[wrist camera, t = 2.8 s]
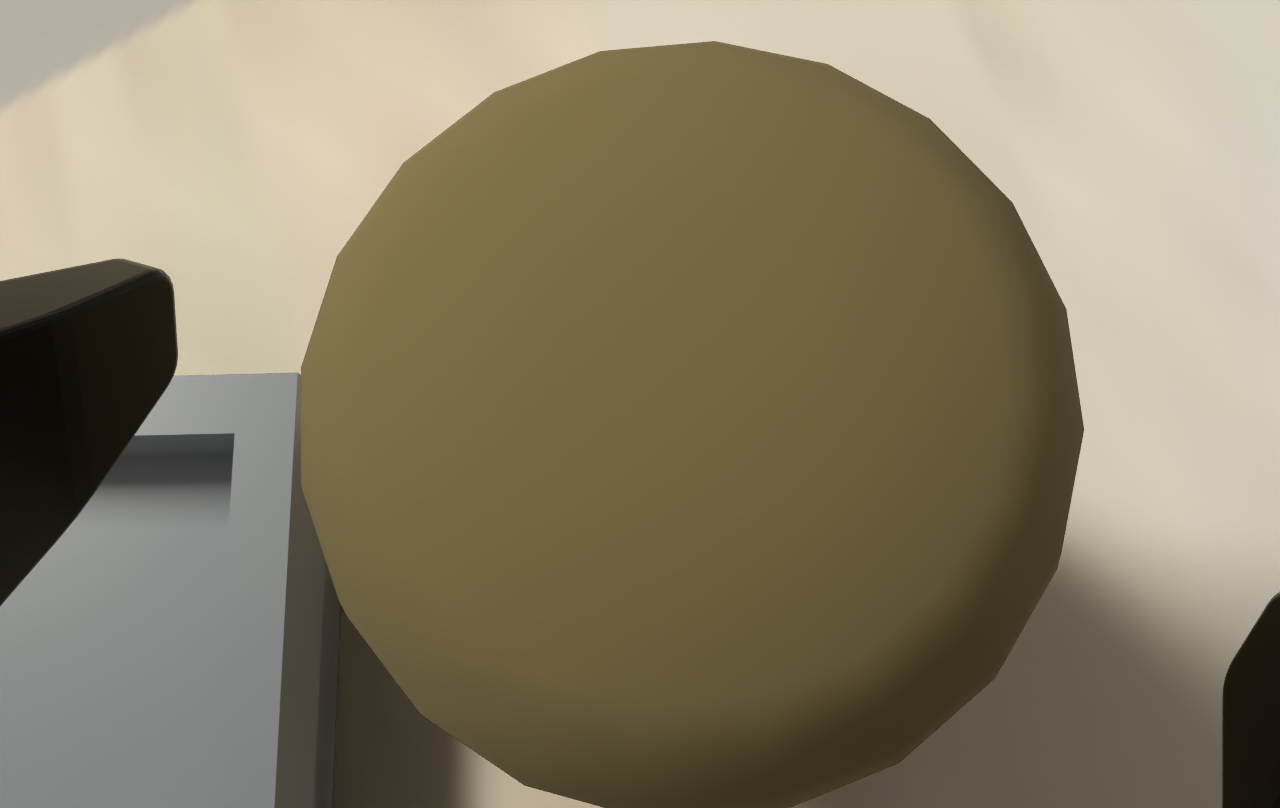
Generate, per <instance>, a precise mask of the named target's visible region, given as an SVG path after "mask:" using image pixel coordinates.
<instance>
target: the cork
mask: <svg viewBox="0 0 1280 808" xmlns="http://www.w3.org/2000/svg"><path fill="white" fill-rule="evenodd" d="M1083 432H1084V426H1083V420H1082V413H1081V406H1080V399H1079V393H1078V386H1077V379H1076V372H1075V365H1074V359H1073V352H1072V345H1071V338H1070V331H1069V325H1068V318H1067V311H1066V308H1065V306H1064V304H1063V302H1062V300H1061V298H1060V296H1059V294H1058V292H1057V290H1056V288H1055V286H1054V284H1053V282H1052V280H1051V278H1050V276H1049V274H1048V272H1047V270H1046V268H1045V266H1044V264H1043V262H1042V260H1041V258H1040V256H1039V254H1038V252H1037V250H1036V248H1035V246H1034V244H1033V242H1032V240H1031V238H1030V236H1029V235H1028V233H1027V231H1026V229H1025V227H1024V225H1023V223H1022V221H1021V219H1020V217H1019V215H1018V213H1017V211H1016V209H1015V207H1014V205H1013V203H1012V202H1011V201H1010V200H1009V199H1008V198H1007V197H1006V196H1005V195H1004V194H1003V193H1002V192H1001V191H1000V190H999V189H998V188H997V187H996V186H995V185H994V184H993V182H992V181H991V180H990V179H989V178H988V177H987V176H986V175H985V174H984V173H983V172H982V171H981V170H980V169H979V168H978V167H977V166H976V165H975V164H974V163H973V162H972V161H971V160H970V159H969V158H968V157H967V156H966V155H965V154H964V153H963V152H962V151H961V150H960V149H959V148H958V147H957V146H956V145H955V144H954V143H953V142H952V141H951V140H950V139H949V138H948V137H947V136H946V135H945V134H944V133H943V132H942V131H941V130H940V129H939V128H938V127H937V126H936V125H935V124H934V123H933V122H932V121H931V120H930V119H929V118H927V117H925V116H923V115H921V114H920V113H918V112H916V111H914V110H912V109H910V108H908V107H907V106H905V105H903V104H901V103H899V102H897V101H895V100H893V99H892V98H890V97H888V96H886V95H884V94H882V93H880V92H879V91H877V90H875V89H873V88H871V87H869V86H867V85H865V84H864V83H862V82H860V81H858V80H856V79H854V78H852V77H851V76H849V75H847V74H845V73H843V72H841V71H839V70H837V69H836V68H834V67H832V66H830V65H828V64H824V63H819V62H814V61H809V60H804V59H799V58H795V57H790V56H785V55H780V54H775V53H770V52H765V51H760V50H755V49H750V48H745V47H740V46H735V45H730V44H725V43H721V42H716V41H712V42H701V43H689V44H678V45H666V46H655V47H643V48H632V49H620V50H608V51H600V52H597V53H595V54H592V55H589V56H587V57H584V58H582V59H579V60H577V61H574V62H571V63H569V64H566V65H564V66H561V67H559V68H556V69H553V70H551V71H548V72H546V73H543V74H541V75H538V76H536V77H533V78H530V79H528V80H525V81H523V82H520V83H518V84H515V85H512V86H510V87H507V88H505V89H502V90H500V91H497V92H495V93H493V94H492V95H490V96H489V97H488V98H486V99H485V100H484V101H483V102H481V103H480V104H479V105H477V106H476V107H475V108H474V109H472V110H471V111H470V112H468V113H467V114H466V115H465V116H463V117H462V118H461V119H459V120H458V121H457V122H456V123H454V124H453V125H452V126H450V127H449V128H448V129H447V130H445V131H444V132H443V133H441V134H440V135H439V136H438V137H436V138H435V139H434V140H432V141H431V142H430V143H428V144H427V145H426V146H425V147H423V148H422V149H421V150H419V151H418V152H417V153H416V154H414V155H413V156H412V157H410V158H409V159H408V160H407V161H405V162H404V163H403V164H402V166H401V167H400V169H399V170H398V171H397V173H396V174H395V176H394V177H393V178H392V180H391V181H390V183H389V184H388V186H387V187H386V188H385V190H384V191H383V193H382V194H381V195H380V197H379V198H378V200H377V201H376V202H375V204H374V205H373V207H372V208H371V209H370V211H369V212H368V214H367V215H366V217H365V218H364V219H363V221H362V222H361V224H360V225H359V226H358V228H357V229H356V231H355V232H354V233H353V235H352V236H351V238H350V239H349V241H348V242H347V243H346V245H345V246H344V248H343V249H342V250H341V252H340V253H339V255H338V256H337V258H336V262H335V265H334V268H333V271H332V274H331V277H330V280H329V283H328V286H327V289H326V292H325V295H324V299H323V302H322V305H321V308H320V311H319V314H318V317H317V320H316V323H315V326H314V329H313V332H312V336H311V339H310V342H309V345H308V348H307V351H306V354H305V357H304V360H303V363H302V366H301V487H302V490H303V493H304V496H305V499H306V502H307V505H308V508H309V511H310V514H311V517H312V520H313V523H314V526H315V529H316V532H317V535H318V539H319V542H320V545H321V548H322V551H323V554H324V557H325V560H326V563H327V566H328V569H329V572H330V575H331V578H332V581H333V584H334V587H335V590H336V593H337V596H338V599H339V602H340V604H341V606H342V608H343V609H344V611H345V613H346V615H347V617H348V618H349V619H350V621H351V622H352V624H353V625H354V626H355V628H356V629H357V630H358V632H359V633H360V634H361V636H362V637H363V638H364V640H365V641H366V642H367V644H368V645H369V646H370V648H371V649H372V650H373V652H374V653H375V654H376V656H377V657H378V658H379V660H380V661H381V662H382V664H383V665H384V666H385V668H386V669H387V670H388V672H389V673H390V674H391V676H392V677H393V678H394V680H395V681H396V682H397V684H398V685H399V686H400V688H401V689H402V690H403V692H404V693H405V694H406V696H407V697H408V698H409V700H410V701H411V702H412V704H413V705H414V706H415V708H416V709H417V710H418V712H419V713H420V714H421V715H422V716H424V717H425V718H427V719H428V720H430V721H431V722H433V723H434V724H436V725H437V726H439V727H440V728H441V729H443V730H444V731H446V732H447V733H449V734H450V735H452V736H453V737H455V738H456V739H457V740H459V741H460V742H462V743H463V744H465V745H466V746H468V747H469V748H471V749H472V750H474V751H475V752H476V753H478V754H479V755H481V756H482V757H484V758H485V759H487V760H488V761H490V762H491V763H493V764H494V765H495V766H497V767H498V768H500V769H501V770H503V771H504V772H506V773H507V774H509V775H510V776H511V777H513V778H514V779H516V780H517V781H519V782H520V783H522V784H523V785H525V786H529V787H532V788H536V789H539V790H543V791H547V792H550V793H554V794H557V795H561V796H564V797H568V798H572V799H575V800H579V801H582V802H586V803H590V804H593V805H597V806H600V807H604V808H790V807H793V806H795V805H797V804H800V803H802V802H805V801H807V800H810V799H812V798H815V797H817V796H819V795H822V794H824V793H827V792H829V791H832V790H834V789H837V788H839V787H841V786H844V785H846V784H849V783H851V782H854V781H856V780H858V779H861V778H863V777H866V776H868V775H871V774H873V773H876V772H878V771H880V770H883V769H885V768H888V767H890V766H893V765H895V764H898V763H899V762H900V761H901V760H903V759H904V758H905V757H906V756H907V755H908V754H909V753H911V752H912V751H913V750H914V749H915V748H916V747H917V746H919V745H920V744H921V743H922V742H923V741H924V740H925V739H926V738H928V737H929V736H930V735H931V734H932V733H933V732H934V731H936V730H937V729H938V728H939V727H940V726H941V725H942V724H944V723H945V722H946V721H947V720H948V719H949V718H950V717H951V716H953V715H954V714H955V713H956V712H957V711H958V710H959V709H961V708H962V707H963V706H964V705H965V704H966V703H967V702H969V701H970V700H971V699H972V698H973V697H974V696H975V695H976V694H978V693H979V692H980V691H981V690H982V689H983V688H984V687H986V686H987V685H988V684H989V683H990V682H991V681H992V680H994V679H995V677H996V676H997V674H998V672H999V670H1000V668H1001V667H1002V665H1003V663H1004V661H1005V660H1006V658H1007V656H1008V654H1009V653H1010V651H1011V649H1012V647H1013V646H1014V644H1015V642H1016V640H1017V638H1018V637H1019V635H1020V633H1021V631H1022V630H1023V628H1024V626H1025V624H1026V623H1027V621H1028V619H1029V617H1030V616H1031V614H1032V612H1033V610H1034V608H1035V607H1036V605H1037V603H1038V601H1039V600H1040V598H1041V596H1042V594H1043V593H1044V591H1045V589H1046V587H1047V586H1048V584H1049V582H1050V580H1051V578H1052V577H1053V575H1054V573H1055V571H1056V570H1057V567H1058V563H1059V559H1060V555H1061V551H1062V546H1063V541H1064V535H1065V530H1066V524H1067V519H1068V513H1069V508H1070V503H1071V497H1072V492H1073V486H1074V481H1075V476H1076V470H1077V465H1078V459H1079V454H1080V449H1081V443H1082V438H1083Z"/></svg>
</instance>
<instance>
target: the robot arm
mask: <svg viewBox="0 0 1280 808" xmlns="http://www.w3.org/2000/svg"><path fill="white" fill-rule="evenodd" d="M177 359H178V348H177V332H176V317H175V301H174V289H173V284H172V282H171V279H170V277H169V276H168V275H167V274H166V273H165V272H164V271H163V270H161V269H158V268H154V267H151V266H147V265H144V264H140V263H137V262H133V261H129V260H126V259H112V260H107V261H102V262H97V263H91V264H86V265H81V266H76V267H71V268H66V269H61V270H55V271H50V272H45V273H40V274H35V275H30V276H25V277H19V278H14V279H9V280H4V281H0V606H1V605H2V604H3V603H4V602H5V600H6V599H7V598H8V597H9V596H10V595H11V593H12V592H13V591H14V590H15V589H16V588H17V587H18V585H19V584H20V583H21V582H22V581H23V580H24V579H25V577H26V576H27V575H28V574H29V573H30V572H31V570H32V569H33V568H34V567H35V566H36V565H37V564H38V562H39V561H40V560H41V559H42V558H43V557H44V556H45V554H46V553H47V552H48V551H49V550H50V549H51V547H52V546H53V545H54V544H55V543H56V542H57V541H58V539H59V538H60V537H61V536H62V535H63V533H64V532H65V531H66V530H67V528H68V527H69V526H70V525H71V524H72V522H73V521H74V520H75V519H76V518H77V516H78V515H79V514H80V512H81V511H82V510H83V508H84V507H85V505H86V504H87V503H88V501H89V500H90V499H91V497H92V496H93V495H94V493H95V492H96V490H97V489H98V487H99V486H100V485H101V483H102V482H103V480H104V479H105V477H106V476H107V474H108V473H109V471H110V470H111V469H112V467H113V466H114V464H115V463H116V461H117V460H118V458H119V457H120V456H121V454H122V453H123V451H124V450H125V448H126V447H127V445H128V444H129V442H130V441H131V440H132V438H133V437H134V435H135V434H136V432H137V431H138V429H139V428H140V426H141V425H142V424H143V422H144V421H145V419H146V418H147V416H148V415H149V413H150V412H151V410H152V409H153V408H154V406H155V405H156V403H157V402H158V400H159V399H160V397H161V396H162V395H163V393H164V392H165V390H166V389H167V387H168V386H169V384H170V382H171V380H172V378H173V376H174V373H175V370H176V366H177ZM1222 808H1280V592H1279V593H1277V594H1276V595H1275V596H1274V597H1273V598H1272V599H1271V600H1270V602H1269V603H1268V604H1267V606H1266V608H1265V609H1264V611H1263V612H1262V614H1261V616H1260V617H1259V619H1258V620H1257V622H1256V624H1255V625H1254V627H1253V628H1252V630H1251V632H1250V633H1249V635H1248V636H1247V638H1246V640H1245V641H1244V643H1243V644H1242V646H1241V648H1240V649H1239V651H1238V652H1237V654H1236V656H1235V657H1234V659H1233V660H1232V662H1231V664H1230V666H1229V669H1228V671H1227V674H1226V677H1225V681H1224V687H1223V720H1222Z"/></svg>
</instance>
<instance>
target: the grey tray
mask: <svg viewBox="0 0 1280 808" xmlns="http://www.w3.org/2000/svg"><path fill="white" fill-rule="evenodd" d="M340 607H341V604H340V602H339V599H338V596H337V593H336V590H335V587H334V584H333V581H332V578H331V575H330V572H329V569H328V566H327V563H326V560H325V557H324V554H323V551H322V548H321V545H320V542H319V539H318V535H317V532H316V529H315V526H314V523H313V520H312V517H311V514H310V511H309V508H308V505H307V502H306V499H305V496H304V493H303V490H302V487H301V375H300V374H299V373H266V374H227V375H188V376H173V378H172V380H171V382H170V384H169V386H168V387H167V389H166V390H165V392H164V393H163V395H162V396H161V397H160V399H159V400H158V402H157V403H156V405H155V406H154V408H153V409H152V410H151V412H150V413H149V415H148V416H147V418H146V419H145V421H144V422H143V424H142V425H141V426H140V428H139V429H138V431H137V432H136V434H135V435H134V437H133V438H132V440H131V441H130V442H129V444H128V445H127V447H126V448H125V450H124V451H123V453H122V454H121V456H120V457H119V458H118V460H117V461H116V463H115V464H114V466H113V467H112V469H111V470H110V471H109V473H108V474H107V476H106V477H105V479H104V480H103V482H102V483H101V485H100V486H99V487H98V489H97V490H96V492H95V493H94V495H93V496H92V497H91V499H90V500H89V501H88V503H87V504H86V505H85V507H84V508H83V510H82V511H81V512H80V514H79V515H78V516H77V518H76V519H75V520H74V521H73V522H72V524H71V525H70V526H69V527H68V528H67V530H66V531H65V532H64V533H63V535H62V536H61V537H60V538H59V539H58V541H57V542H56V543H55V544H54V545H53V546H52V547H51V549H50V550H49V551H48V552H47V553H46V554H45V556H44V557H43V558H42V559H41V560H40V561H39V562H38V564H37V565H36V566H35V567H34V568H33V569H32V570H31V572H30V573H29V574H28V575H27V576H26V577H25V579H24V580H23V581H22V582H21V583H20V584H19V585H18V587H17V588H16V589H15V590H14V591H13V592H12V593H11V595H10V596H9V597H8V598H7V599H6V600H5V602H4V603H3V604H2V605H1V606H0V808H332V791H333V768H334V745H335V722H336V699H337V676H338V653H339V630H340Z"/></svg>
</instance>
